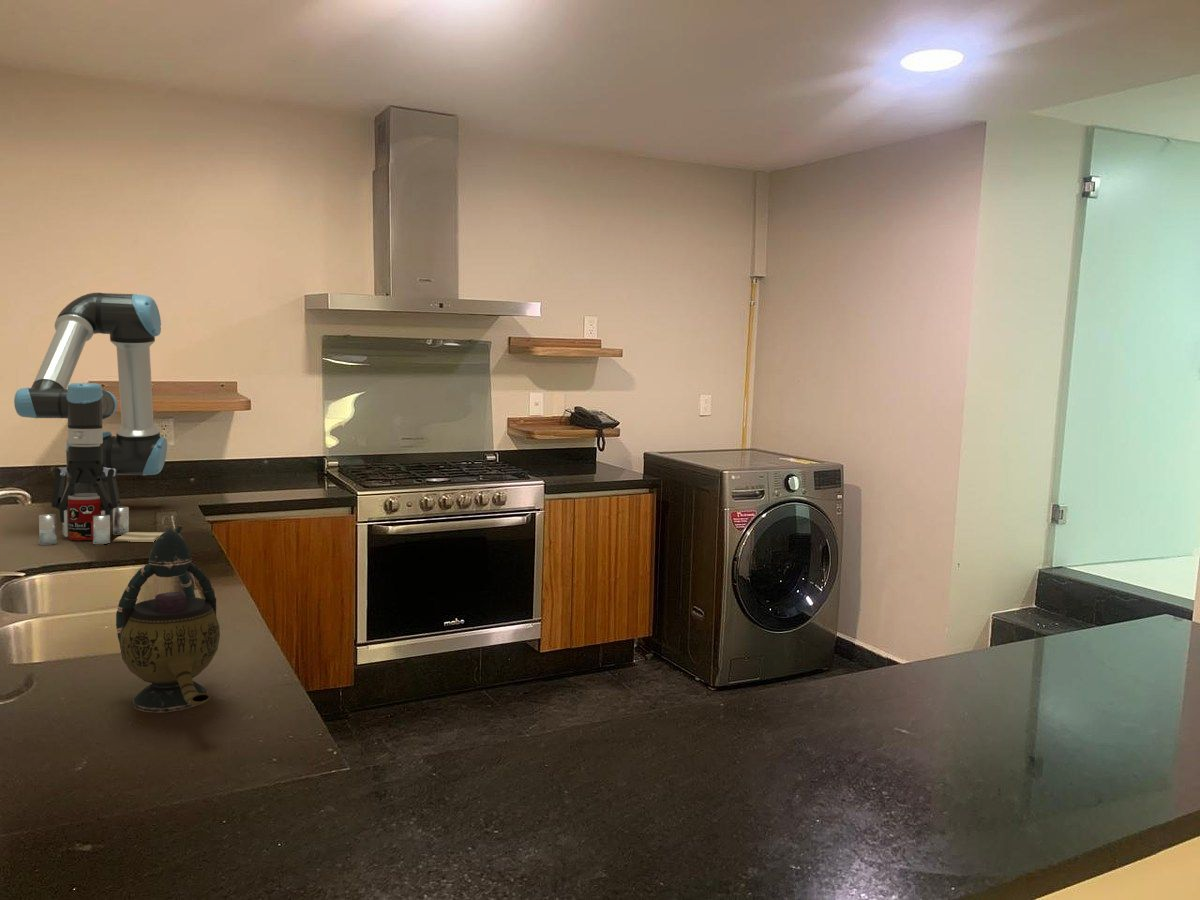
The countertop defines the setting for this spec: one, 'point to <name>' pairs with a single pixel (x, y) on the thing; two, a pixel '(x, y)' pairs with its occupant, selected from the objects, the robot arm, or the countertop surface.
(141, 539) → the coaster
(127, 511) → the cylinder
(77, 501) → the canned food
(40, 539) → the cylinder
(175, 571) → the teapot
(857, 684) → the countertop surface
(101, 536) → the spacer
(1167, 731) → the countertop surface
